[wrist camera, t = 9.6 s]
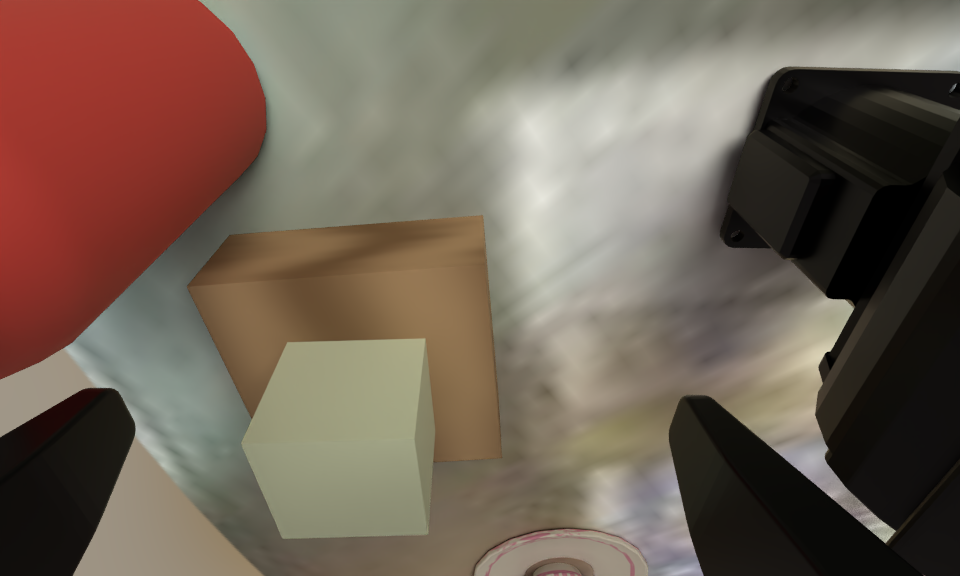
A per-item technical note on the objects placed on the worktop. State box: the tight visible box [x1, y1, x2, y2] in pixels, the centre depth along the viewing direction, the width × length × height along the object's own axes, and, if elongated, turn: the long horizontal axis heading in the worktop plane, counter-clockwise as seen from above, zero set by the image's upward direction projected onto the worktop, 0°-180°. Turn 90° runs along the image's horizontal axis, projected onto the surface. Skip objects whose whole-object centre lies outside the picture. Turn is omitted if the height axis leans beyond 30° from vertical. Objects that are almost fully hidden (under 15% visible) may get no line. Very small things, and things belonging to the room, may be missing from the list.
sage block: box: [241, 338, 435, 539], centre depth 18 cm, size 5×5×4 cm
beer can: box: [0, 0, 266, 379], centre depth 12 cm, size 7×7×12 cm
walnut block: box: [187, 215, 502, 462], centre depth 21 cm, size 10×10×4 cm
